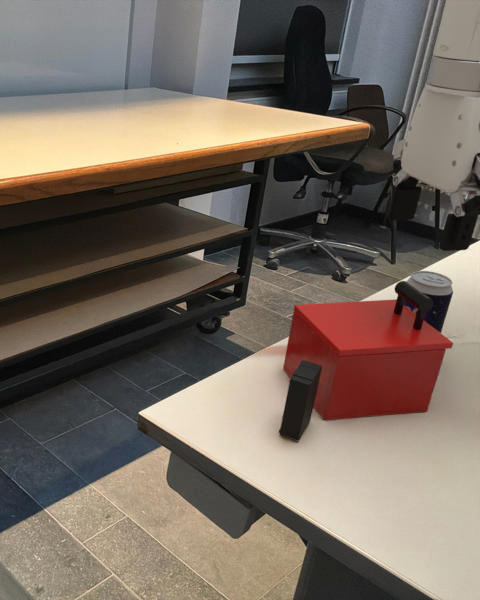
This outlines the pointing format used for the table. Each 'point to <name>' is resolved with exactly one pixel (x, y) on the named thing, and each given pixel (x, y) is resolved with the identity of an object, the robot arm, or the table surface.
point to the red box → (364, 377)
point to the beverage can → (432, 295)
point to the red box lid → (375, 324)
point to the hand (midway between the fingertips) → (425, 233)
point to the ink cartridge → (300, 400)
